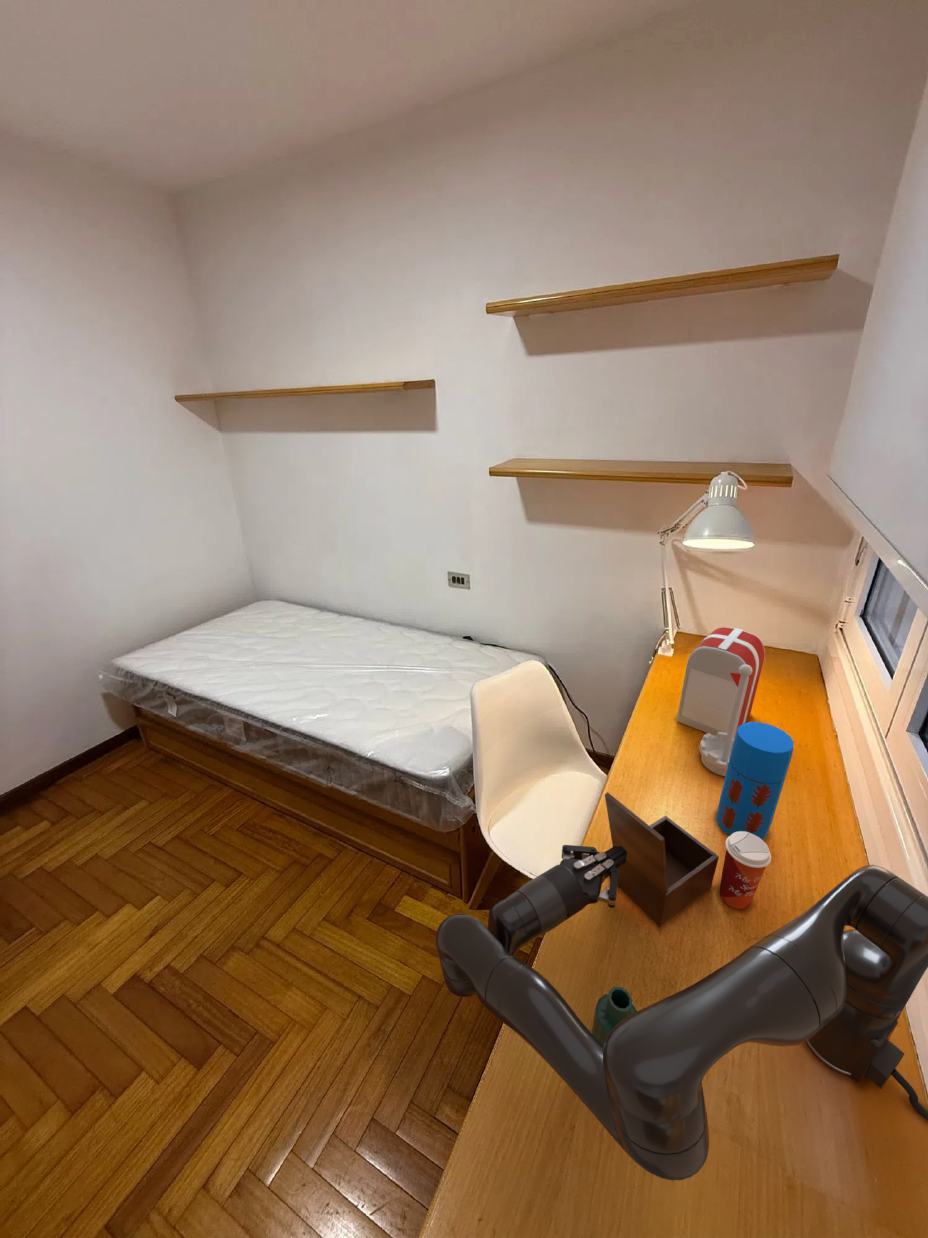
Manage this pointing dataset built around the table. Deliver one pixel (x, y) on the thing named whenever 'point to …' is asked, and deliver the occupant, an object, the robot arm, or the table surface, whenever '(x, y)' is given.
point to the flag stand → (720, 745)
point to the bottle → (611, 1012)
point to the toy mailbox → (720, 680)
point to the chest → (671, 874)
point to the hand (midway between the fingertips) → (623, 852)
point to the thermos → (754, 779)
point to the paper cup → (743, 868)
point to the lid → (638, 842)
